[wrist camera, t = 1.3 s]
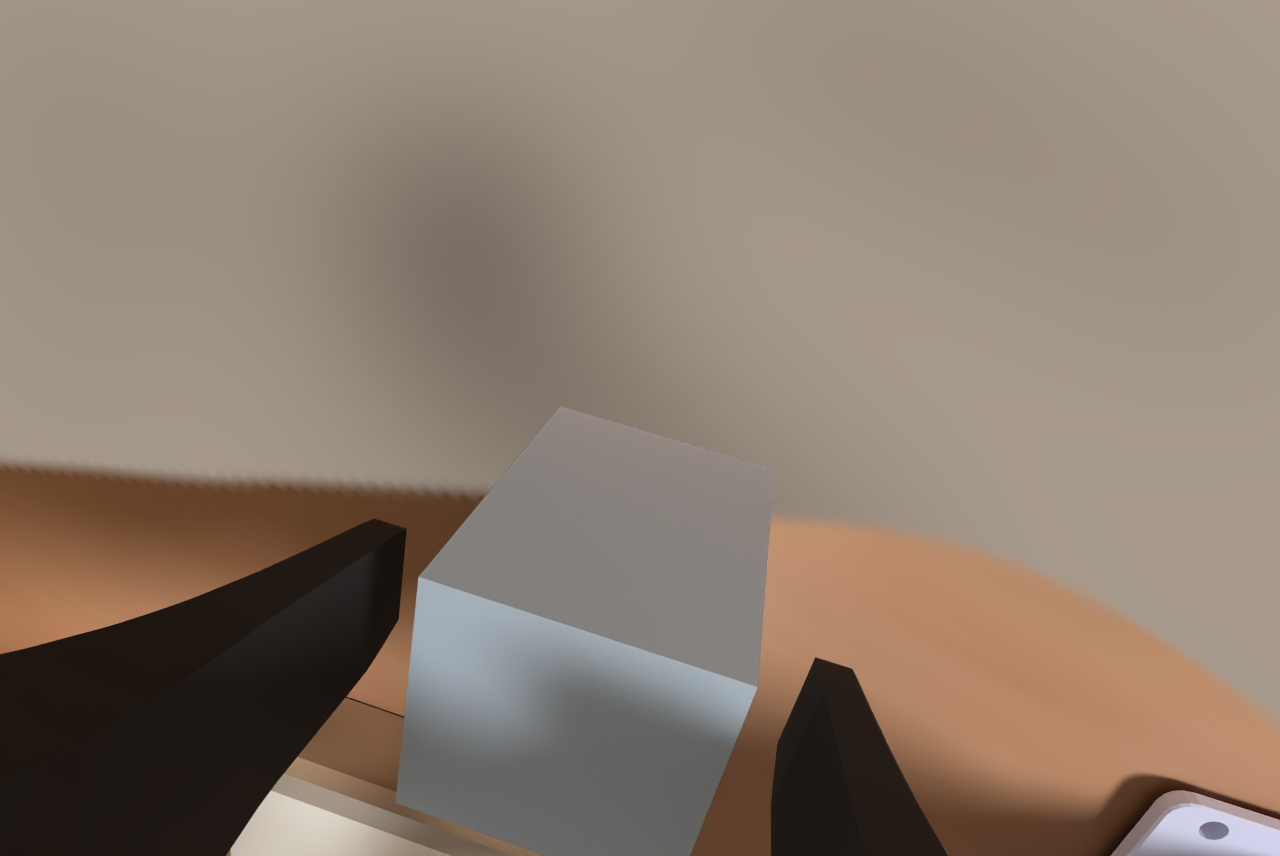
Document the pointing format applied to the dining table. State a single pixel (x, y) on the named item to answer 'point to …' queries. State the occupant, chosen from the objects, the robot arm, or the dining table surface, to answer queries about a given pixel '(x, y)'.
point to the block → (590, 644)
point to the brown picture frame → (354, 800)
